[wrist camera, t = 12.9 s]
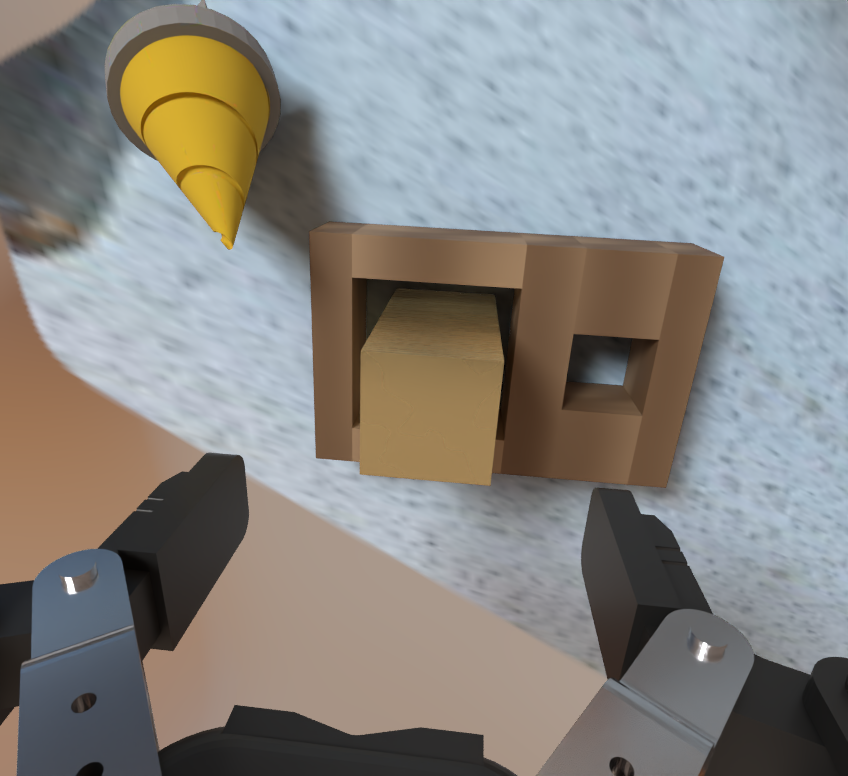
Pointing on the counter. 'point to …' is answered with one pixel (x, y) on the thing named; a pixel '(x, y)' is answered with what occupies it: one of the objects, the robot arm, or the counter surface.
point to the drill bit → (195, 103)
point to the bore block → (531, 339)
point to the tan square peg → (432, 388)
